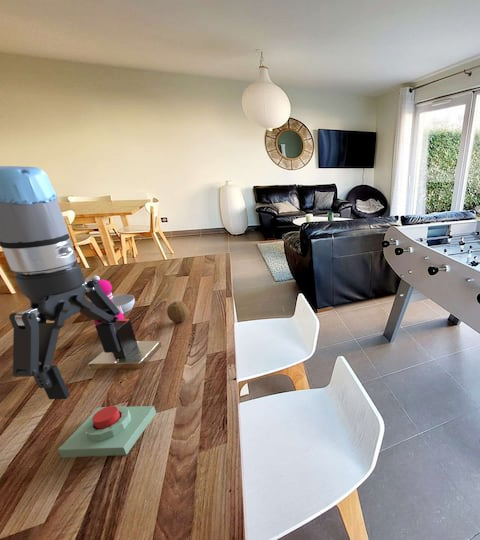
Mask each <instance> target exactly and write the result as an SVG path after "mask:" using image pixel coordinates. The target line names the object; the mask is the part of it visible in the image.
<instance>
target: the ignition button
mask: <svg viewBox="0 0 480 540" xmlns="http://www.w3.org/2000/svg"><path fill="white" fill-rule="evenodd" d="M104 407H105V408H103V409H101V410H99V411H98V412H97V413H96V414H95V415H94V416H93V418H92V421H93V423H94V425H95V428H96V429H105V428H108V427H110V426H112V425H113V424H115V423H116V422H117V421H118V420H119V419H120V414H119V411H118V408H117V407H115V405H110V406H104Z"/></svg>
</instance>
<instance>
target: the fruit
mask: <svg viewBox="0 0 480 540" xmlns="http://www.w3.org/2000/svg"><path fill="white" fill-rule="evenodd" d="M166 313H167V317H168V319H169V320H170V321H171V322H172V323H183V322H184V321H185V320H187V318H188V316H189V308H188V306H187V304H186V303H185V302H183V301H180V300H179V301H173V302H171V303H170V304H169V305H168V306H167V309H166Z"/></svg>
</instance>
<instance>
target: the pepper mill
mask: <svg viewBox="0 0 480 540" xmlns="http://www.w3.org/2000/svg"><path fill="white" fill-rule="evenodd" d="M91 279H96V280H98V282H99V285H100V287H101V289H102V291H103V292H104V293H105V294H106V295H107V296H108V298H109V299H110V300H111V301H112V297H113V296H114V295H113V293H112V290H113V286H112V284H111V282H110V281H108V280H106V279H103V278H102V279H101V278H100V276H98V275H93V276H92V277H91ZM119 311H120V310H119ZM115 317H118V319H125V316H124V313H123V314H122V312H121V311H120V314H119V315H118V316H115ZM93 321H94V325H95V326H96V325H98V324H101V323H98V322H97V321H95V320H93Z"/></svg>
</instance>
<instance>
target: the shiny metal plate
mask: <svg viewBox="0 0 480 540" xmlns="http://www.w3.org/2000/svg"><path fill="white" fill-rule="evenodd" d="M136 341H137V344H138V346H137V347H136V348H135V349H133V350H132V351H131V352H130V353H129V354H128V355H127V356H126V357H122V358H115V357H114V354H113V353H105V352H104V350H103V351H102V352H101V353H99V354H98V355H97V356H96V357H94V358H93V359H92V360H91V361H89V363H88V366H89V368H90V370H127V369H128V370H135V369H136V370H138V369H139V370H140V369H142V368H143V367H144V366H146V364H147V363H148V362H149V361H150V360H151V358H153V356H154V355H155V354H156V353H157V352H158V351H159V349H161V348H162V342H161V340H136Z"/></svg>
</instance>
